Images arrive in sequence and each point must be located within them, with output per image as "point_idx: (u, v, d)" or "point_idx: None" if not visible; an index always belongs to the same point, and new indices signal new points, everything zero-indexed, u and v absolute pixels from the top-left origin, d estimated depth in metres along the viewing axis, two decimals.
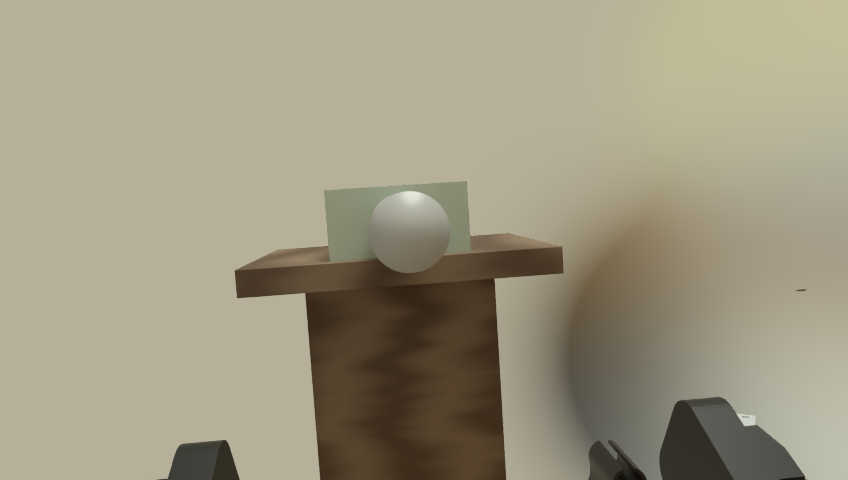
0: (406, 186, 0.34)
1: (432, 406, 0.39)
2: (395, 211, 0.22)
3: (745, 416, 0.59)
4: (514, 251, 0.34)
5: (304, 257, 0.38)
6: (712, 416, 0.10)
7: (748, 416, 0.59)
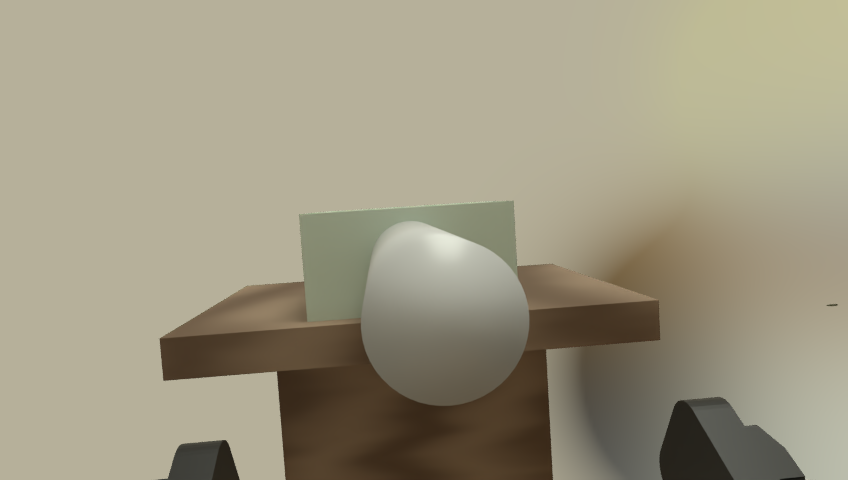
0: (423, 208, 0.23)
1: None
2: (416, 279, 0.11)
3: None
4: (587, 307, 0.22)
5: (275, 307, 0.27)
6: (712, 416, 0.10)
7: None
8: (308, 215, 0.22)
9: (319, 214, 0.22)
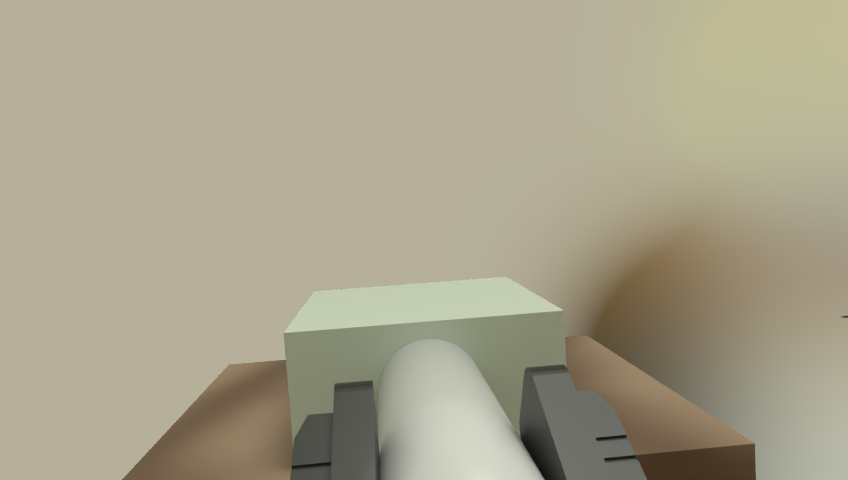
0: (446, 322, 0.17)
1: None
2: None
3: None
4: (661, 455, 0.17)
5: (256, 424, 0.21)
6: (548, 380, 0.11)
7: None
8: (296, 333, 0.17)
9: (310, 332, 0.17)
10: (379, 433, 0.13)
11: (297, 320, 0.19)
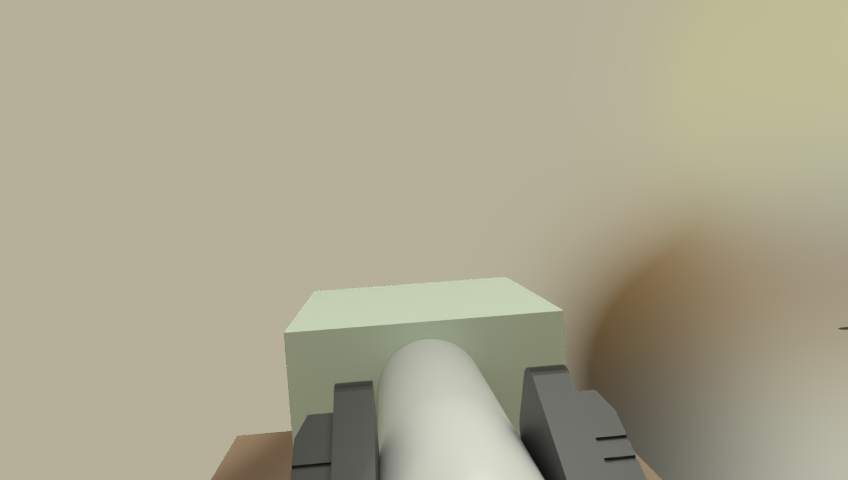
0: (446, 322, 0.17)
1: None
2: None
3: None
4: None
5: None
6: (548, 380, 0.11)
7: None
8: (296, 333, 0.17)
9: (310, 332, 0.17)
10: (379, 433, 0.13)
11: (297, 320, 0.19)
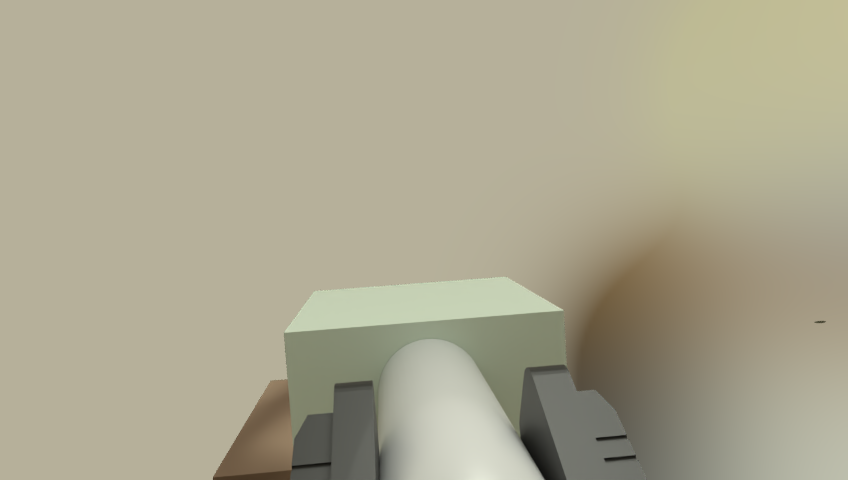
0: (446, 322, 0.17)
1: None
2: None
3: None
4: None
5: None
6: (548, 380, 0.11)
7: None
8: (296, 333, 0.17)
9: (310, 332, 0.17)
10: (379, 433, 0.13)
11: (297, 320, 0.19)
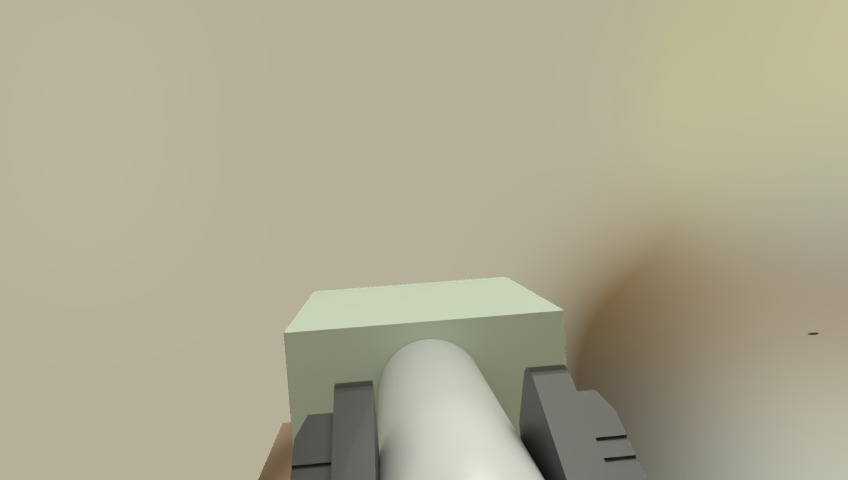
0: (446, 322, 0.17)
1: None
2: None
3: None
4: None
5: None
6: (548, 380, 0.11)
7: None
8: (296, 333, 0.17)
9: (310, 332, 0.17)
10: (379, 433, 0.13)
11: (297, 320, 0.19)
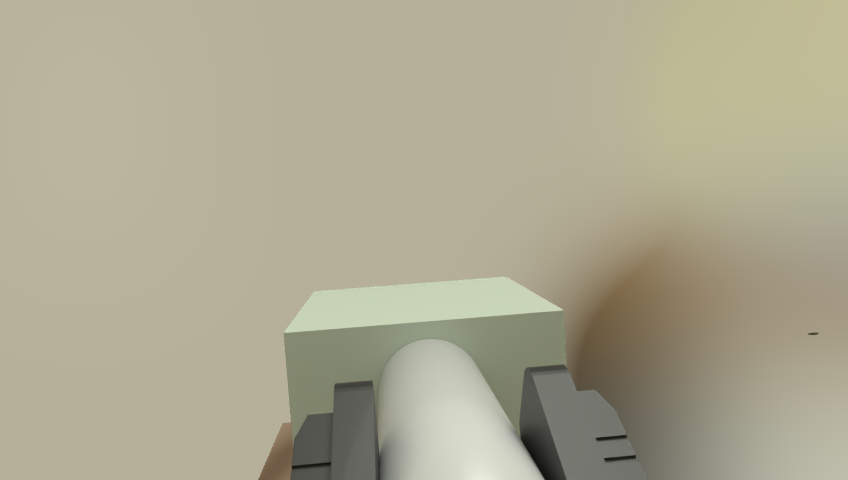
0: (446, 322, 0.17)
1: None
2: None
3: None
4: None
5: None
6: (548, 380, 0.11)
7: None
8: (296, 333, 0.17)
9: (310, 332, 0.17)
10: (379, 433, 0.13)
11: (297, 320, 0.19)
